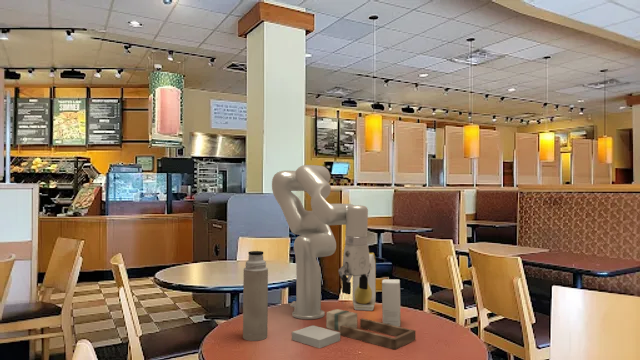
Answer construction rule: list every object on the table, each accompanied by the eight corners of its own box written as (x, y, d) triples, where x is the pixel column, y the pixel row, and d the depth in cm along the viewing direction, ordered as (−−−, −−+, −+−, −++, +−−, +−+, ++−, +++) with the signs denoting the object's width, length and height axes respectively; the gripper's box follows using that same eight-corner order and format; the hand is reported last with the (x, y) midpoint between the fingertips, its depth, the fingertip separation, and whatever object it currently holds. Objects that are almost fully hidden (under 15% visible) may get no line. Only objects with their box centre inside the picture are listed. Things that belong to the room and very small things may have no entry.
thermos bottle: (250, 332, 150) (250, 249, 151) (271, 334, 148) (272, 250, 149) (238, 339, 143) (239, 252, 144) (260, 342, 140) (261, 253, 141)
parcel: (326, 328, 156) (326, 312, 156) (337, 324, 160) (337, 308, 160) (346, 333, 150) (346, 316, 150) (357, 329, 154) (357, 313, 154)
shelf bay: (340, 335, 148) (340, 325, 148) (362, 326, 157) (362, 318, 157) (394, 349, 134) (394, 339, 134) (415, 339, 143) (415, 330, 143)
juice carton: (352, 310, 179) (352, 251, 180) (353, 305, 187) (353, 248, 188) (375, 311, 178) (375, 251, 179) (376, 306, 186) (375, 249, 186)
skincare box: (400, 327, 156) (400, 283, 157) (381, 326, 157) (381, 282, 158) (400, 321, 164) (400, 278, 165) (382, 320, 166) (382, 278, 166)
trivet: (291, 339, 143) (291, 331, 143) (312, 332, 150) (312, 325, 150) (319, 348, 135) (319, 340, 135) (340, 340, 142) (340, 332, 142)
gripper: (349, 244, 143) (348, 297, 143) (379, 240, 156) (378, 289, 156) (331, 242, 148) (330, 293, 148) (362, 238, 161) (360, 285, 161)
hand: (354, 291), depth 152 cm, fingers open, 9 cm apart
